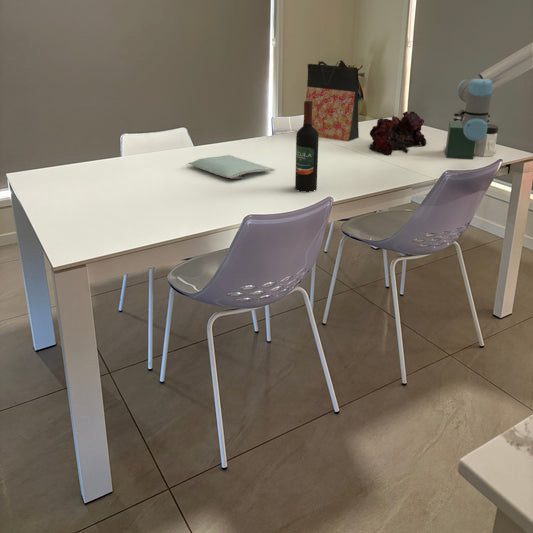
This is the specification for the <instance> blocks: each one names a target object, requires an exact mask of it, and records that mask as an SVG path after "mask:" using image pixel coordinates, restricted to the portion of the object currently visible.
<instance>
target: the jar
mask: <svg viewBox="0 0 533 533" xmlns="http://www.w3.org/2000/svg"><path fill="white" fill-rule="evenodd" d="M487 126H488V128H487V133H486V135H485V136H484V137H483V138H482V139H480V140H476V142H475V148H474V155H473V156H479V157H482V158H483V157H494V156H495V150H496V143H497V138H498V132H499V125H496V124H490V123H487Z"/></svg>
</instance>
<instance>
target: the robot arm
mask: <svg viewBox="0 0 533 533" xmlns="http://www.w3.org/2000/svg"><path fill="white" fill-rule="evenodd" d="M531 69H533V42H531V43H529V44H527V45H526V46H524V47H522V48H520V49H519V50H517V51H515V52H513V53H512V54H510V55H509V56H507V57H505V58H504V59H502V60H500V61H499V62H497V63H495V64H494V65H492V66H490V67H488V68H487V69H485V70H483V71H482V72H480V73H478V74H477V75H475V76H473V77H472V78H466V79H463V80H462V81H461V82H459V84H458V86H457V89H456V93H457V95H458V97H459V99H460V100H461V101H462V102H465V103H466V104H465V109H459V111H458V112H456V113H453V121H459V122H462V126H463V133H464V135H465V136H466V137H467V138H468V139H470V140H473V141H476V140H480V139H482V138H483V137H484V136H485V135H486V133H487V128H488V126H487V124H488V123H489V122H490V119H491V114H489V112H490V105H491V100H492V94H493V91H494V90H497V89H498V88H500V87H502V86H503V85H505V84H507V83H509V82H510V81H512V80H514V79H515V78H517V77H519V76H521V75H523V74H524V73H526V72H528V71H530V70H531Z"/></svg>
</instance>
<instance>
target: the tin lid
mask: <svg viewBox="0 0 533 533" xmlns="http://www.w3.org/2000/svg"><path fill="white" fill-rule="evenodd" d="M449 126H450V129H455V130H463V126H462V122H461V121H460V120H457V121H454V120H449V121H448V127H449Z"/></svg>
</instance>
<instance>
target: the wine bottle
mask: <svg viewBox="0 0 533 533" xmlns="http://www.w3.org/2000/svg"><path fill="white" fill-rule="evenodd" d="M312 107H313V102H312V101H306V100H304V101H303V122H304V124H303V123H302V127H299V129H298V130H297V131H296V134H295V135H296V136H295V178H294V180H295V182H294V185H295V186H294V190H296V191H297V190H299V191H298V192H301V191H306V192H305V193H310V192H309V191H312V192H315V191H317V189H318V166H319V163H318V162H319V139H320V137H319V134H318V132H317V130H316V129H315V128H314V127H313V126H312ZM314 190H315V191H314Z"/></svg>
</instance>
